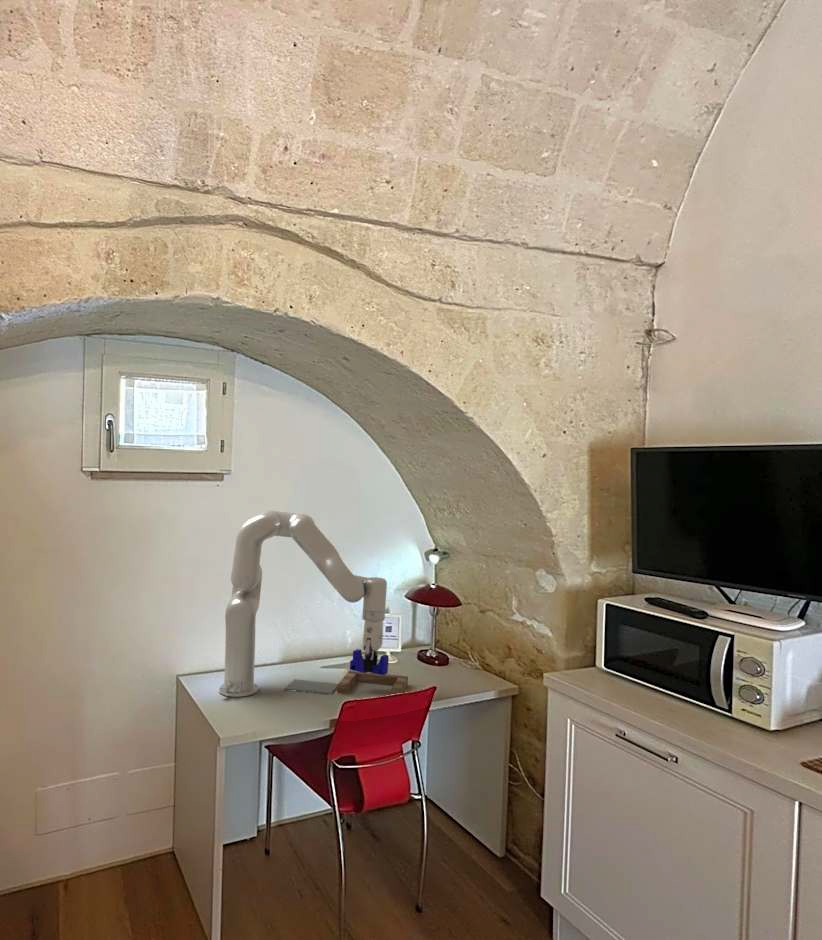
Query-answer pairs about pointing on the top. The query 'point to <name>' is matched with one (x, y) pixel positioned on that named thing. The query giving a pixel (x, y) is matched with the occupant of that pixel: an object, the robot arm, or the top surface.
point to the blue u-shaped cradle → (380, 668)
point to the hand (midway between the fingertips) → (370, 668)
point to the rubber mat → (312, 686)
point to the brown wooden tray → (372, 681)
